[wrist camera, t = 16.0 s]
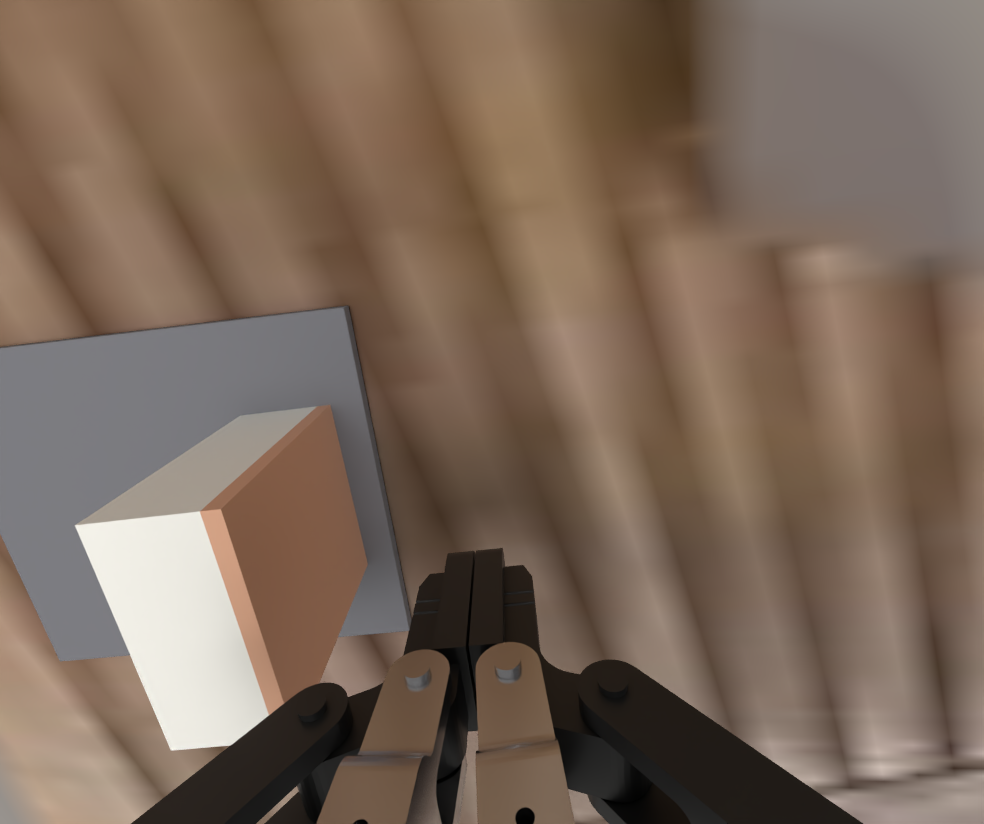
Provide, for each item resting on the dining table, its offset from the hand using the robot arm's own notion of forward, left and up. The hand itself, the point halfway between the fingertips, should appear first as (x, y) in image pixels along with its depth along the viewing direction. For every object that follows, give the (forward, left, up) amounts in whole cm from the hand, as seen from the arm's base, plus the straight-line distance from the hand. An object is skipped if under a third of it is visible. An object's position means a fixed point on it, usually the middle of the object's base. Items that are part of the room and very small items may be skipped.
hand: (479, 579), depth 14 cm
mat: (0, -12, -7) cm, 14 cm away
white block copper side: (0, -7, -6) cm, 10 cm away
